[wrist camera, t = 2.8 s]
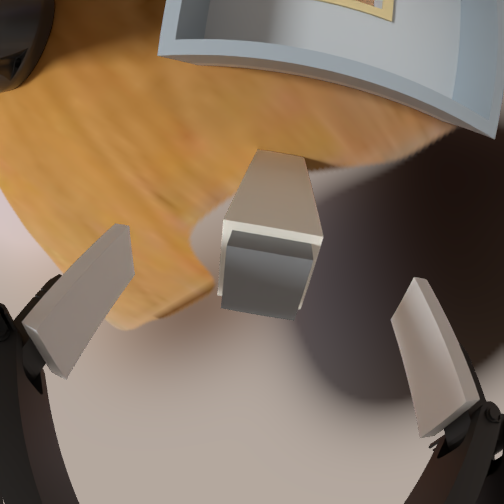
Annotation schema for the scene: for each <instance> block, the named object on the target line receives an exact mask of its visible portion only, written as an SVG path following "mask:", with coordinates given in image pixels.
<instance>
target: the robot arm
mask: <svg viewBox="0 0 504 504" xmlns="http://www.w3.org/2000/svg"><path fill="white" fill-rule="evenodd" d="M53 16H54V0H0V93H2V92H6V91H10V90H13V89H15V88H16V87H18V86H19V85H20V84H21V83H22V82H23V81H24V80H25V79H26V78H27V77H28V76H29V74H30V73H31V71H32V70H33V68H34V67H35V65H36V63H37V62H38V60H39V58H40V56H41V54H42V52H43V49H44V47H45V45H46V42H47V39H48V36H49V33H50V30H51V26H52V22H53ZM134 275H135V272H134V265H133V257H132V249H131V240H130V230H129V226H127V225H121V224H114V225H113V226H112V227H111V228H110V229H109V230H108V231H107V232H106V233H104V234H103V235H102V236H101V237H100V238H99V239H98V240H97V241H96V242H95V243H94V244H93V245H92V246H91V247H90V248H89V249H88V250H87V251H86V252H85V253H84V254H83V255H82V256H81V257H80V258H79V259H78V260H77V261H76V262H75V263H74V264H73V265H72V266H71V267H70V268H69V269H68V270H67V271H66V272H65V273H64V274H63V275H60V274H59V275H57V276H55V277H54V278H52V279H50V280H49V281H48V282H47V283H46V284H45V285H44V286H43V287H42V288H41V291H39V292H38V293H37V294H36V295H35V297H33V298H32V299H31V301H30V302H29V303H28V304H27V306H25V308H24V309H23V310H22V311H21V312H20V314H19V315H18V316H17V317H16V318H15V320H14V321H13V319H12V317H11V316H10V314H9V312H8V310H7V308H6V307H5V305H4V304H1V303H0V504H3V500H4V503H5V504H79V502H78V500H77V497H76V495H75V492H74V490H73V487H72V484H71V482H70V479H69V476H68V473H67V471H66V468H65V464H64V461H63V458H62V455H61V451H60V448H59V444H58V440H57V437H56V433H55V428H54V424H53V419H52V415H51V410H50V404H49V399H48V393H47V386H46V379H45V373H44V370H43V369H42V368H43V366H44V365H45V364H47V366H48V367H49V369H50V370H51V372H52V373H54V374H56V375H58V376H60V377H62V378H64V379H67V378H68V375H69V374H70V372H71V371H72V369H73V367H74V366H75V364H76V362H77V361H78V359H79V357H80V356H81V354H82V352H83V350H84V349H85V347H86V346H87V344H88V343H89V341H90V340H91V338H92V336H93V335H94V333H95V332H96V330H97V329H98V327H99V326H100V324H101V323H102V321H103V320H104V318H105V317H106V315H107V314H108V312H109V311H110V309H111V308H112V306H113V305H114V303H115V302H116V300H117V299H118V298H119V296H120V295H121V293H122V292H123V290H124V289H125V288H126V286H127V285H128V283H129V282H130V281H131V279H132V278H133V276H134ZM391 322H392V325H393V329H394V332H395V335H396V338H397V342H398V345H399V349H400V352H401V355H402V359H403V363H404V366H405V370H406V374H407V378H408V383H409V387H410V391H411V395H412V399H413V404H414V409H415V414H416V419H417V424H418V430H419V436H420V438H424V437H430V436H435V435H436V434H437V433H439V432H440V431H442V430H443V429H444V431H445V435H443V436H442V437H440V438H439V439H437V440H436V441H434V442H433V443H431V444H430V446H429V448H432V447H433V446H435V445H436V444H437V446H436V448H434V449H433V451H434V453H433V455H432V457H431V459H430V460H429V462H428V464H427V466H426V468H425V470H424V472H423V473H422V476H421V477H420V479H419V480H418V482H417V484H416V485H415V487H414V489H413V491H412V492H411V493H410V495H409V497H408V498H407V500H406V501H405V503H404V504H504V414H501V413H500V410H499V408H498V407H497V406H496V405H495V404H494V403H493V402H486V400H485V397H484V394H483V391H482V388H481V385H480V383H479V380H478V377H477V375H476V373H475V372H474V371H475V370H474V367H473V365H472V364H471V363H472V362H471V360H470V358H469V355H468V353H467V351H466V350H465V349H464V347H463V346H462V345H461V344H459V343H458V341H457V339H456V336H455V335H454V332H453V330H452V328H451V326H450V324H449V321H448V319H447V317H446V315H445V314H444V311H443V309H442V307H441V306H440V304H439V302H438V300H437V298H436V296H435V294H434V292H433V290H432V288H431V287H430V285H429V283H428V281H427V280H426V279H421V278H416V277H414V278H413V280H412V282H411V284H410V286H409V288H408V290H407V292H406V294H405V295H404V297H403V299H402V301H401V303H400V304H399V306H398V308H397V310H396V312H395V313H394V315H393V317H392V318H391ZM501 450H503V454H502V456H501V457H500V458H498V459H496V460H495V459H494V455H495V454H497V453H498V452H500V451H501Z"/></svg>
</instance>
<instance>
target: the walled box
mask: <svg viewBox="0 0 504 504" xmlns="http://www.w3.org/2000/svg"><path fill="white" fill-rule="evenodd" d="M158 56H161V57H166V58H170V59H175V60H179V61H183V62H187V63H191V64H195V65H207V66H227V67H240V68H250V69H259V70H267V71H274V72H281V73H287V74H293V75H299V76H304V77H309V78H314V79H318V80H323V81H327V82H331V83H336V84H340V85H343V86H347V87H351V88H354V89H358V90H361V91H365V92H368V93H371V94H374V95H377V96H380V97H383V98H386V99H389V100H392V101H395V102H398V103H400V104H403V105H406V106H408V107H411V108H413V109H416V110H418V111H421V112H423V113H425V114H428V115H430V116H432V117H434V118H437V119H439V120H441V121H444V122H447V123H450V124H453V125H457V126H460V127H463V128H466V129H469V130H472V131H474V132H477V133H480V134H483V135H485V136H488V137H490V138H493V139H495V136H496V131H497V127H498V122H499V117H500V111H501V104H502V99H503V91H504V0H375V1H374V6H371V5H368V4H365V3H361V2H358V1H355V0H166V5H165V10H164V15H163V21H162V27H161V34H160V41H159V48H158Z"/></svg>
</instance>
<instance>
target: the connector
mask: <svg viewBox="0 0 504 504" xmlns="http://www.w3.org/2000/svg"><path fill="white" fill-rule="evenodd" d="M322 240H323V234H322V228H321V224H320V219H319V215H318V211H317V206H316V202H315V198H314V194H313V190H312V186H311V182H310V178H309V174H308V170H307V166H306V163H305V159H304V157H300V156H295V155H289V154H284V153H278V152H272V151H266V150H260V149H258V150H257V152H256V154H255V156H254V158H253V160H252V162H251V164H250V166H249V168H248V170H247V172H246V174H245V176H244V178H243V180H242V182H241V184H240V186H239V188H238V190H237V192H236V194H235V196H234V198H233V200H232V202H231V205H230V207H229V209H228V211H227V213H226V215H225V217H224V220H223V230H222V242H221V254H220V267H219V279H218V295H220V296H222V303H221V308H224V309H229V310H234V311H240V312H246V313H251V314H257V315H263V316H269V317H275V318H281V319H289V320H294V319H295V316H296V313H297V310H298V309H301V306H302V303H303V300H304V297H305V294H306V291H307V288H308V285H309V282H310V279H311V276H312V273H313V269H314V266H315V263H316V260H317V256H318V253H319V250H320V247H321V243H322Z"/></svg>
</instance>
